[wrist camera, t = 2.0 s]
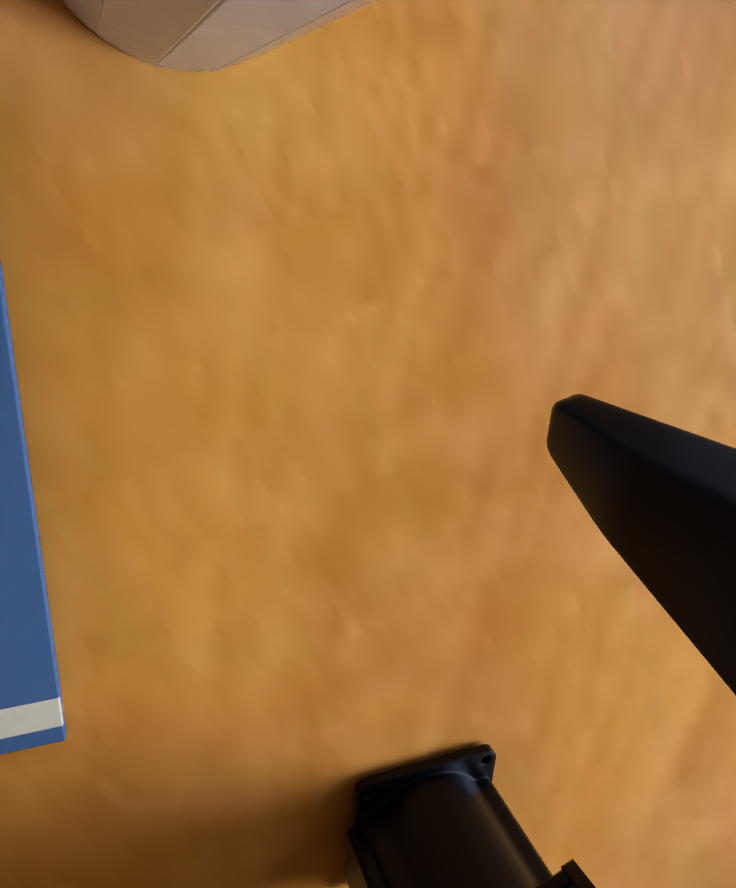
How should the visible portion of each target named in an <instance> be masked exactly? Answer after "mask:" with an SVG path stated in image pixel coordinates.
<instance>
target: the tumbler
mask: <svg viewBox="0 0 736 888" xmlns="http://www.w3.org/2000/svg"><path fill="white" fill-rule="evenodd" d="M62 1H63V2H64V3H65V4H66V5H67V7H68V8H69V9H70V10H71V11H72V12H73V13H74V14H75V15H76V16H77V17H78V18H79V19H80V20H81V21H82V22H83V23H84V24H85V25H86V26H87V27H88V28H90V29H91V30H92V31H93V32H95V33H96V34H97V35H99V36H100V37H101V38H102V39H104V40H105V41H106V42H108V43H110V44H111V45H113V46H114V47H116V48H118V49H119V50H121V51H122V52H124V53H126V54H128V55H130V56H133V57H135V58H137V59H139V60H141V61H143V62H147V63H150V64H153V65H156V66H159V67H162V68H168V69H173V70H179V71H199V72H201V71H218V70H220V69H223V68H226V67H229V66H232V65H236V64H238V63H240V62H242V61H245V60H248V59H251V58H253V57H256V56H259V55H262V54H264V53H267V52H269V51H271V50H273V49H275V48H277V47H279V46H281V45H284V44H286V43H288V42H290V41H292V40H294V39H296V38H298V37H301V36H303V35H305V34H307V33H309V32H311V31H313V30H315V29H318V28H320V27H322V26H324V25H326V24H328V23H330V22H332V21H335V20H337V19H339V18H341V17H343V16H345V15H347V14H349V13H352V12H354V11H356V10H358V9H360V8H362V7H364V6H366V5H369V4H371V3H373V2H375V1H377V0H62Z"/></svg>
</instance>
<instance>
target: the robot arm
mask: <svg viewBox="0 0 736 888" xmlns="http://www.w3.org/2000/svg"><path fill="white" fill-rule="evenodd" d="M547 447H548V450H549V453H550V455H551V457H552V459H553V460H554V462H555V463H556V465H557V466H558V468H559V469H560V471H561V472H562V474H563V475H564V477H565V478H566V480H567V481H568V483H569V484H570V486H571V487H572V489H573V490H574V492H575V493H576V495H577V496H578V498H579V500H580V501H581V503H582V504H583V506H584V507H585V509H586V510H587V512H588V513H589V515H590V516H591V518H592V519H593V521H594V522H595V524H596V525H597V526H598V528H599V529H600V531H601V532H602V534H603V535H604V536H605V537H606V539H607V540H608V541H609V542H610V544H611V545H612V546H613V547H614V549H615V550H616V551H617V552H618V553H619V555H620V556H621V557H622V558H623V560H624V561H625V562H626V563H627V564H628V566H629V567H630V568H631V569H632V570H633V572H634V573H635V574H636V575H637V576H638V578H639V579H640V580H641V581H642V583H643V584H644V585H645V586H646V587H647V589H648V590H649V591H650V592H651V593H652V595H653V596H654V597H655V598H656V599H657V601H658V602H659V603H660V604H661V605H662V607H663V608H664V609H665V610H666V612H667V613H668V614H669V615H670V616H671V618H672V619H673V620H674V621H675V622H676V624H677V625H678V626H679V627H680V628H681V630H682V631H683V632H684V633H685V635H686V636H687V637H688V638H689V639H690V641H691V642H692V643H693V644H694V645H695V647H696V648H697V649H698V650H699V651H700V653H701V654H702V655H703V656H704V657H705V659H706V660H707V661H708V662H709V664H710V665H711V666H712V667H713V668H714V670H715V671H716V672H717V673H718V674H719V676H720V677H721V678H722V679H723V680H724V682H725V683H726V684H727V685H728V687H729V688H730V689H731V690H732V691H733V693H734V694H735V695H736V448H733V447H730V446H727V445H724V444H721V443H719V442H716V441H713V440H710V439H707V438H704V437H702V436H699V435H696V434H693V433H690V432H688V431H685V430H682V429H679V428H676V427H673V426H671V425H668V424H665V423H662V422H659V421H656V420H654V419H651V418H648V417H645V416H642V415H640V414H637V413H634V412H631V411H628V410H625V409H623V408H620V407H617V406H614V405H611V404H608V403H606V402H603V401H600V400H597V399H594V398H592V397H589V396H586V395H582V394H576V395H572V396H570V397H568V398H565V399H563V400H560V401H558V402H556V403H555V405H554V406H553V408H552V412H551V418H550V424H549V430H548V436H547ZM495 759H496V754H495V753H494V751H493V750H492V748H491V747H490V745H487V744H484V745H480V746H476V747H472V748H469V749H465V750H462V751H458V752H455V753H451V754H447V755H444V756H440V757H437V758H433V759H430V760H426V761H422V762H419V763H415V764H412V765H408V766H405V767H401V768H397V769H394V770H390V771H387V772H383V773H380V774H376V775H372V776H369V777H365V778H363V779H361V780H360V781H359V782H357V784H356V785H355V787H354V795H353V810H352V824H351V826H350V827H349V829H348V831H347V833H346V844H345V859H344V875H345V878H346V880H347V883H348V886H349V888H595V886H594V885H593V884H592V883H591V881H590V880H589V879H588V877H587V876H586V875H585V874H584V872H583V871H582V870H581V869H580V867H579V866H578V865H577V864H576V862H575V861H574V860H573V859H572V860H570V861H569V862H567V863H566V864H564V865H563V866H561V869H562V870H560V871H559V872H558V873H556V874H555V875H552V874H551V872H550V871H549V869H548V868H547V866H546V865H545V863H544V862H543V860H542V859H541V857H540V856H539V854H538V853H537V851H536V849H535V848H534V846H533V845H532V843H531V842H530V840H529V839H528V837H527V836H526V834H525V833H524V831H523V830H522V828H521V827H520V825H519V823H518V822H517V820H516V819H515V817H514V816H513V814H512V813H511V811H510V810H509V808H508V807H507V805H506V804H505V802H504V801H503V799H502V797H501V796H500V794H499V793H498V791H497V790H496V788H495V787H494V785H493V784H492V777H493V771H494V765H495Z"/></svg>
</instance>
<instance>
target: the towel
mask: <svg viewBox="0 0 736 888" xmlns="http://www.w3.org/2000/svg"><path fill="white" fill-rule="evenodd" d="M65 738H66V725H65V718H64V711H63V703H62V696H61V689H60V682H59V675H58V668H57V661H56V654H55V646H54V639H53V632H52V625H51V618H50V611H49V604H48V596H47V589H46V582H45V575H44V568H43V561H42V554H41V546H40V539H39V532H38V525H37V518H36V511H35V504H34V496H33V489H32V482H31V475H30V468H29V461H28V453H27V446H26V439H25V432H24V425H23V418H22V411H21V403H20V396H19V389H18V382H17V375H16V368H15V361H14V353H13V346H12V339H11V332H10V325H9V318H8V311H7V303H6V296H5V289H4V282H3V275H2V268H1V261H0V755H1V754H5V753H10V752H14V751H19V750H23V749H28V748H32V747H37V746H41V745H46V744H50V743H55V742H59V741H64V740H65Z"/></svg>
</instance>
